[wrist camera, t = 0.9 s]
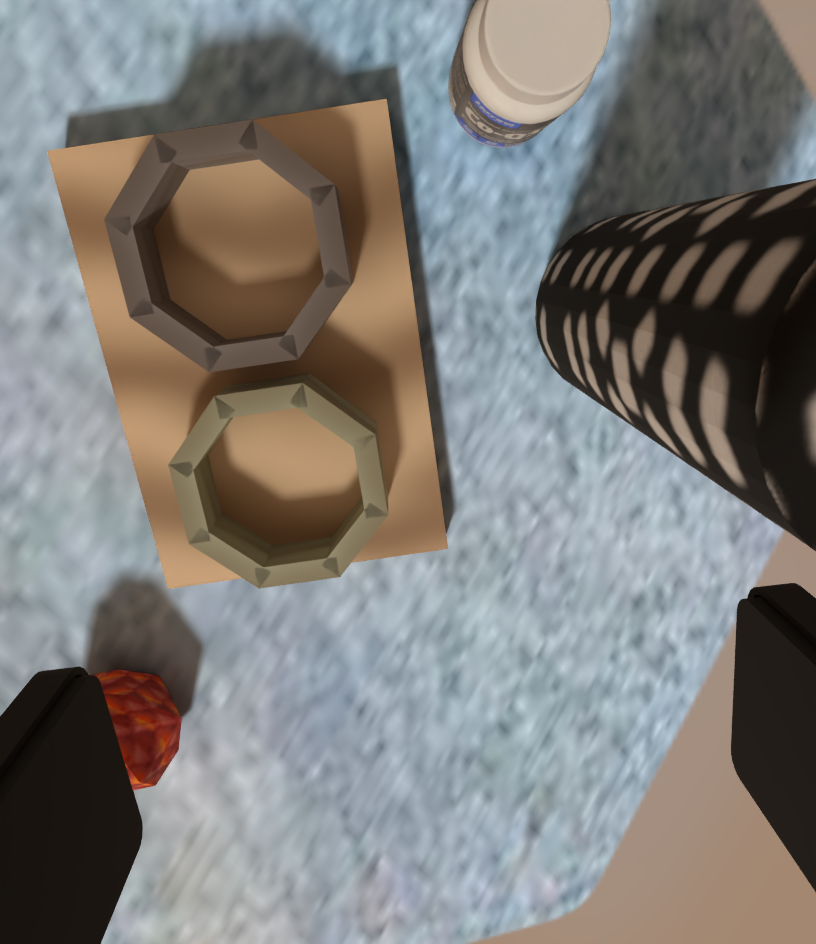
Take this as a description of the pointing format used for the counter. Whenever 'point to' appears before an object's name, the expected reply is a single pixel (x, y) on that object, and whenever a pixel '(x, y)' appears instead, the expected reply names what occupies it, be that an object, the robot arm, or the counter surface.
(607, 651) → the counter surface
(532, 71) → the pill bottle
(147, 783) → the decorative stone
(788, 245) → the spotted tube
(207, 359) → the socket board
